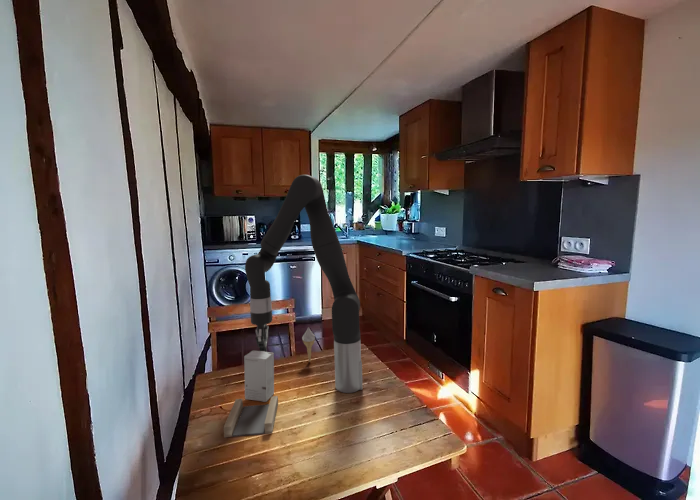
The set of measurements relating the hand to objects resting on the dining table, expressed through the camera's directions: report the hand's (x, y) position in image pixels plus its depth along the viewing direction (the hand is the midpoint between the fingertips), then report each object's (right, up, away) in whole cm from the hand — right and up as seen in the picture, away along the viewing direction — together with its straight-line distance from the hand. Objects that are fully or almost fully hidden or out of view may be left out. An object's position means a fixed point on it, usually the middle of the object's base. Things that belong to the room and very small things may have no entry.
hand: (263, 355), depth 120 cm
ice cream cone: (+15, -8, +16) cm, 24 cm away
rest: (+3, -12, -22) cm, 25 cm away
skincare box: (+1, -11, -9) cm, 14 cm away
